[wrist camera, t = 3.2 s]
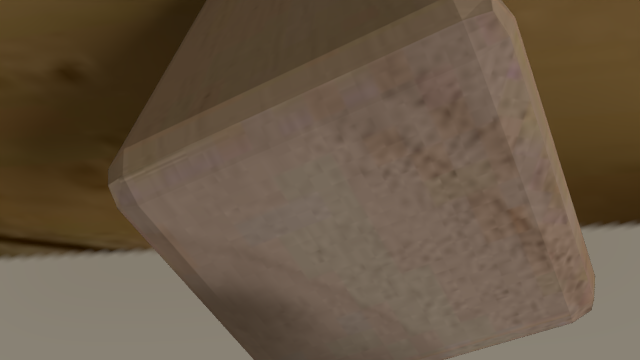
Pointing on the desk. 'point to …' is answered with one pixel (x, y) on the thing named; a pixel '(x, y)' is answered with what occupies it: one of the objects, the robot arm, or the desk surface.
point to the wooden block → (357, 180)
